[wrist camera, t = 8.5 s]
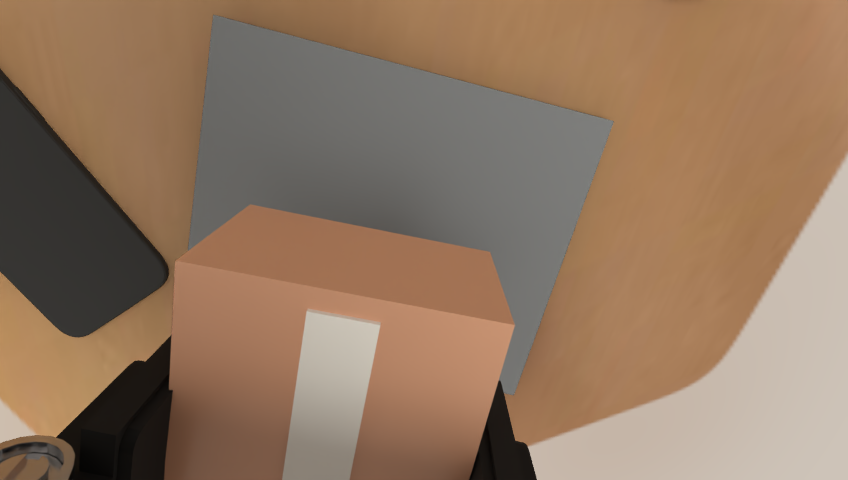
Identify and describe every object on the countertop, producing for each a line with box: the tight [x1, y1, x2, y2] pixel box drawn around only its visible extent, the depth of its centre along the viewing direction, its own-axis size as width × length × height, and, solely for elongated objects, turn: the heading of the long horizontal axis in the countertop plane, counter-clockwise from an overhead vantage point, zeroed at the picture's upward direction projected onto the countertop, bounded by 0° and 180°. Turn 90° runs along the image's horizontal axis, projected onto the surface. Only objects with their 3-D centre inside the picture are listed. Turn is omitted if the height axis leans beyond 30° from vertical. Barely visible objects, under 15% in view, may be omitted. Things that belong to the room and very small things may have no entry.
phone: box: [0, 69, 169, 337], centre depth 25 cm, size 7×1×15 cm
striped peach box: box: [164, 204, 515, 480], centre depth 11 cm, size 8×6×4 cm
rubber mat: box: [188, 15, 614, 395], centre depth 25 cm, size 18×15×1 cm
